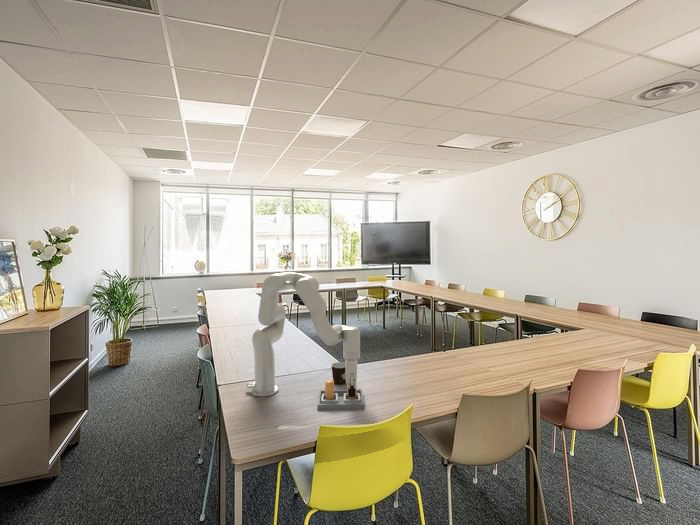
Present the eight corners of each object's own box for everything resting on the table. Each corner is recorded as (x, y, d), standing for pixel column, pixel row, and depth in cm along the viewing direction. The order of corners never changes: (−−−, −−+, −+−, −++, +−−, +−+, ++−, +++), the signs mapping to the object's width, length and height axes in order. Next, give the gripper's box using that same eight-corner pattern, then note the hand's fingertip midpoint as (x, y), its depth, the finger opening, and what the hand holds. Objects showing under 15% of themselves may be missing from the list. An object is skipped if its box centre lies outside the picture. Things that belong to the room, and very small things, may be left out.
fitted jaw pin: (325, 403, 150) (324, 383, 150) (325, 399, 154) (325, 379, 154) (334, 403, 151) (334, 383, 150) (334, 399, 155) (334, 379, 154)
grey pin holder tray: (317, 411, 145) (317, 404, 145) (319, 396, 160) (319, 390, 160) (364, 410, 146) (364, 404, 145) (361, 395, 160) (361, 389, 160)
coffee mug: (333, 388, 169) (333, 368, 169) (329, 381, 177) (329, 363, 177) (355, 385, 172) (355, 366, 172) (351, 379, 180) (351, 360, 180)
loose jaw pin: (347, 401, 151) (347, 381, 150) (347, 397, 155) (347, 377, 154) (356, 401, 151) (356, 381, 150) (356, 397, 155) (356, 377, 154)
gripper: (343, 349, 160) (343, 387, 161) (343, 360, 144) (343, 403, 144) (359, 348, 160) (359, 387, 161) (361, 360, 144) (361, 403, 144)
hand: (351, 394), depth 153 cm, fingers closed on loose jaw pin, 3 cm apart
